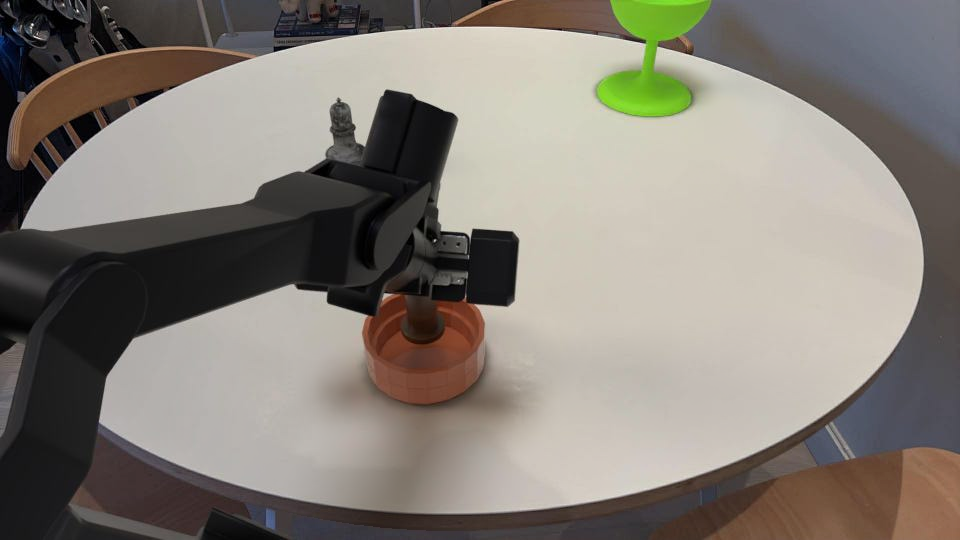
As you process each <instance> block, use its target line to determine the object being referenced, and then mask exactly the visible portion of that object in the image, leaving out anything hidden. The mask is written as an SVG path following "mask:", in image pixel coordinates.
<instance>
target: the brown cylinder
mask: <svg viewBox="0 0 960 540" xmlns="http://www.w3.org/2000/svg"><path fill="white" fill-rule="evenodd" d="M431 294H432V284H430V291H429V297H422V296H410V295H405V301H406V312H407V314H406V315H405V316H404V317H403V319H402V321H401V333H402V335H403V337H404V338H405V339H406V340H407V341H409V342H411V343H413V344H418V345H426V344H430V343H433V342H435V341H437V340H439V339H440V338H441V337H442V335H443V334H444V332H445V321H444V318H443V317H442V315H441V314H440V313H438V312H437V301H436V300H431Z"/></svg>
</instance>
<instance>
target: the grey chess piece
mask: <svg viewBox="0 0 960 540" xmlns="http://www.w3.org/2000/svg"><path fill="white" fill-rule="evenodd" d="M329 117H330V123H331V125H330V127H329V132H330V133H331V134H332V140H333V144H332V145H330V146H329V147H328V148H327V149H326V151H325V153H324V157H325V159H326V158H329V159H333V160H337V161H342V162H346V163H350V164H351V162H352V161H356V162H361V158H362V155H363V152H364V148H365V145H364V144H362V143H359V142H357V141H356V134H355V131H356V129H357V126H356V124H355V123H353V116H352V110H351V106H350V105H349V104H348V103H346V102H344V101H342V99H341V98H340V97H339V96H337V98H336V99H335V103H333V104H331V105H330V107H329Z"/></svg>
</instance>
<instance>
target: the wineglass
mask: <svg viewBox="0 0 960 540" xmlns="http://www.w3.org/2000/svg"><path fill="white" fill-rule="evenodd" d="M712 1H713V0H609V2H610V5H611V8H612V13H613V15H614V17H615V18H616V19H617V21H618V22H619V25H621V26H622V28H623V29H625V30H626V31H628V33H630V35H632V36H633V37H636V38H638V39H642V40H645V41H646V42H645V47H644V55H643V59H642V67H641V70H626V71H620V72H616V73H613V74H611V75H609V76H607V77H605V78H604V79H603V80H602V81H601V82H600V83H599V84H598V86H597V89H596V94H597V98H598V99H599V100H600V101H601V102H602V103H603V104H604V105H605V106H607V107H609V109H613V110H615V111H617V112H619V113H624V114H628V115H630V116H631V115H632V116H637V117H645V118H646V117H647V118H649V117H655V118H656V117H657V118H659V117H666V116H671V115H675V114H678V113H681V112H682V111H684V110H686V109H687V108H688V107H689V106H690V104H691V103H692V94H691V92H690V90H689V88H688V87H687V85H685V84H684V83H683V82H682V81H680V80H678V79H677V78H675V77H673V76H670V75H667V74H665V73H661V72H656V71H654V69H655V64H656V57H657V52H658V46H659V42H664V41H671V40H674V39H676V38H678V37H680V36H683V35H684V34H686V33H688V32H689V31H691V30H692V29H693V28H694V27H695V26H696V25H698V24H699V23H700V21H701V20H702V19H703V17H704V16H705V14H706V13H707V12H708V11H709V9H710V6H711V3H712Z"/></svg>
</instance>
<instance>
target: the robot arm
mask: <svg viewBox="0 0 960 540" xmlns="http://www.w3.org/2000/svg"><path fill="white" fill-rule="evenodd" d="M458 123H459V117H458V116H457V115H456V114H455V113H454V112H451V111H446V110H444V109H442V108H440V107H438V106H436V105H433V104H431V103H429V102H425V101H423V100H420V99H417V98H416V97H415V96H414V94H412V93H408V92H403V91H398V90H393V89H387V88H386V89H385V90H384V91H383V95H381V96H380V97H379V99H378V103H377V106H376V109H375V112H374V116H373V119H372V122H371V127H370V129H369V133H368V135H367V138H366V142H365V145H364V146H365V148H364V152H363V155H362V158H361V162H356V161H352V162H351V164H350V163H346V162H342V161H337V160H333V159H329V158H326V157H325V158H324V159H323V160H321V161H320V162H318V163H316V164H315V165H313V166H311V167H310V168H308V169H306V170H304V171H300V170H297V171H293V172H290V173H288V174H285V175H283V176H279V177H277V178H275V179H272V180H269V181H266V182H264V183H262V184H260V185H259V186H258V187H257V191H256V192H255V195H254V197H253V198H251V199H249V200H247V201H244V202H241V203H236V204H229V205H227V204H226V205H222V206H215V207H207V208H201V209H193V210H187V211H180V212H174V213H166V214H160V215H154V216H147V217H139V218H133V219H126V220H120V221H119V220H118V221H112V222H111V221H110V222H106V223H99V224H92V225H83V226H78V227H72V228H65V229H57V230H41V229H37V228H19V229H16V230H14V231H12V230H11V231H10V230H7V231H4V232H1V233H0V356H1V355H2V354H4V353H5V352H7V351H9V350H10V349H12V348H13V347H14V346H15V345H16V344H17V343H18V344H20V345H24V351H23V354H22V359H21V362H20V366H19V371H18V375H17V378H16V382H15V387H14V391H13V395H12V400H11V403H10V404H11V405H10V407H9V412H8V415H7V418H6V419H7V420H6V425H5V427H4V430H3V432H2V435H1V436H0V540H298V539H297V538H294V537H292V536H290V535H287V534H285V533H284V532H283V533H282V532H280V531H278V530H275V529H273V528H271V527H268V526H266V525H264V524H261V523H259V522H257V521H255V520H252V519H250V518H247V517H245V516H243V515H240V514H238V513H233V514H232V513H228V512H227V511H224V510H222V509H220V508H217V507H215V506H212V507H211V510H210V513H209V515H208V518H207V520H206V523H205V524H204V525H203V526H201V527H200V528H199V529H198V531H197V533H196V535H191V534H186V533H182V532H178V531H174V530H172V529H168V528H163V527H160V526H157V525H152V524H149V523H144V522H141V521H137V520H133V519H129V518H126V517H122V516H118V515H114V514H111V513H107V512H103V511H101V510H96V509H92V508H88V507H84V506H81V505H77V504H73V503H71V501H72V499H74V497H75V495H76V493H77V492H78V491H79V489H80V487H81V486H82V484H83V483H84V481H85V480H86V478H87V477H88V475H89V473H90V470H91V467H92V465H93V460H94V455H95V448H96V443H97V436H98V430H99V424H100V419H101V412H102V406H103V400H104V394H105V390H106V389H105V388H106V382H107V378H108V375H110V372H111V371H112V370H113V368H114V367H115V365H116V364H117V363H118V362H119V360H120V358H121V357H122V355H124V353H125V351H126V350H127V349H128V347H129V346H130V344H131V343H132V341H133V340H134V339H137V338H139V337H142V336H145V335H149V334H151V333H154V332H157V331H159V330H162V329H166V328H168V327H171V326H174V325H178V324H180V323H183V322H186V321H189V320H191V319H192V320H193V319H195V318H198V317H201V316H203V315H206V314H209V313H212V312H215V311H218V310H220V309H221V310H222V309H223V308H227V307H230V306H232V305H235V304H238V303H242V302H244V301H247V300H250V299H253V298H255V297H258V296H261V295H264V294H267V293H271V292H274V291H277V290H279V289H281V288H284V287H288V286H291V285H294V287H295V288H296V290H298V291H303V292H317V293H326V304H327V305H331V306H332V307H333V306H334V307H337V308H340V309H343V310H348V311H351V312H354V313H357V314H360V315H364V316H371V317H376V316H377V315H378V312H379V309H380V306H381V302H382V300H384V299H383V298H384V295H385V294H386V295H387V294H388V295H393V294H398V295H410V296H422V297H429V291H430V284H432V294H431V300H436V301H448V302H461V301H463V300H464V298H465V297H466V303H467V304H474V305H475V306H490V307H502V308H509V306H510V307H511V305H512V304H513V303H515V301H516V292H517V281H518V280H517V279H518V268H519V267H518V266H519V254H520V238H519V237H518V235H516V233H515V232H514V231H512V230H500V229H488V228H487V229H486V228H485V229H484V228H471V229H472V230H471V234H470V236H469V234H468V233H466V232H463V231H462V232H461V231H448V230H447V231H446V230H442V224H441V222H440V221H439V213H440V211H439V208H438V202H439V197H440V196H439V194H440V190H441V181H442V178H443V174H444V171H445V167H446V164H447V161H448V157H449V153H450V150H451V147H452V144H453V140H454V137H455V133H456V131H457V130H456V129H457V126H458Z"/></svg>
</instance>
